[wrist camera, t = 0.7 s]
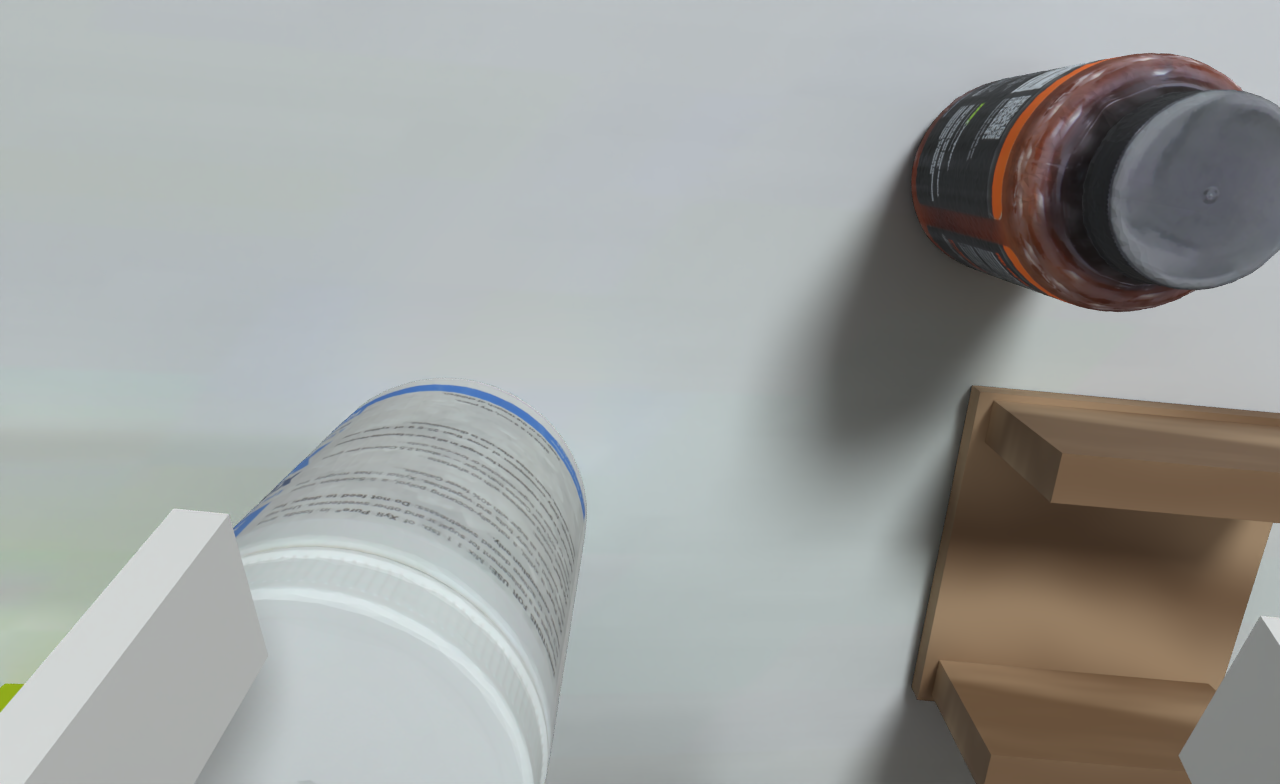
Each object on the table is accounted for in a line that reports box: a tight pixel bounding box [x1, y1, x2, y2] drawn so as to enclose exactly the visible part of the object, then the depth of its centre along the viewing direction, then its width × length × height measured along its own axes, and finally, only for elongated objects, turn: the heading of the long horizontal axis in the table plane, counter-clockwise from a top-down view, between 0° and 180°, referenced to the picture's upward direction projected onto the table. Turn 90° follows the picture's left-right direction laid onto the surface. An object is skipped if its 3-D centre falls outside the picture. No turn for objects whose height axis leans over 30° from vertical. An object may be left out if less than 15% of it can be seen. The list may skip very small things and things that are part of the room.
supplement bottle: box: [911, 53, 1280, 312], centre depth 23 cm, size 6×6×11 cm
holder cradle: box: [912, 385, 1280, 784], centre depth 29 cm, size 12×11×6 cm
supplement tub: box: [194, 378, 587, 784], centre depth 25 cm, size 10×10×15 cm
